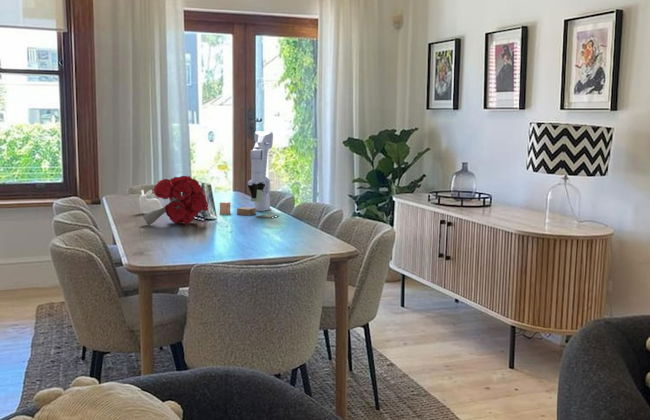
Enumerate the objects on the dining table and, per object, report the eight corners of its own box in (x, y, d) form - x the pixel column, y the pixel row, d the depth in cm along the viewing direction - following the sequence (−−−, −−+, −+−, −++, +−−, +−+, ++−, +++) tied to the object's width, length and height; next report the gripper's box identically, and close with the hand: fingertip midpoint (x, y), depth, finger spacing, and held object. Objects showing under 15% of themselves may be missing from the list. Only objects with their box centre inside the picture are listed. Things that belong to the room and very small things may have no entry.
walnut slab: (244, 213, 344) (244, 206, 344) (255, 214, 341) (255, 208, 341) (237, 214, 338) (237, 208, 337) (248, 216, 335) (248, 209, 334)
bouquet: (161, 244, 287) (219, 209, 295) (133, 198, 281) (192, 164, 290) (155, 238, 307) (209, 206, 315) (129, 196, 301) (185, 164, 310)
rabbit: (139, 214, 327) (139, 190, 326) (138, 211, 336) (138, 188, 334) (163, 214, 331) (163, 190, 329) (162, 211, 340) (162, 188, 338)
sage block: (255, 200, 342) (256, 189, 341) (261, 201, 340) (261, 189, 339) (250, 201, 339) (251, 189, 338) (256, 201, 337) (256, 190, 336)
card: (265, 215, 338) (265, 213, 338) (279, 216, 335) (279, 215, 335) (255, 217, 329) (255, 216, 329) (269, 219, 326) (269, 217, 326)
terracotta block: (223, 212, 342) (224, 201, 341) (230, 213, 340) (230, 202, 339) (219, 213, 338) (219, 202, 337) (226, 214, 336) (226, 203, 336)
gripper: (257, 170, 346) (256, 195, 347) (242, 172, 333) (242, 198, 334) (268, 171, 343) (268, 196, 345) (254, 173, 330) (254, 199, 332)
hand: (256, 197), depth 339 cm, fingers closed on sage block, 4 cm apart
